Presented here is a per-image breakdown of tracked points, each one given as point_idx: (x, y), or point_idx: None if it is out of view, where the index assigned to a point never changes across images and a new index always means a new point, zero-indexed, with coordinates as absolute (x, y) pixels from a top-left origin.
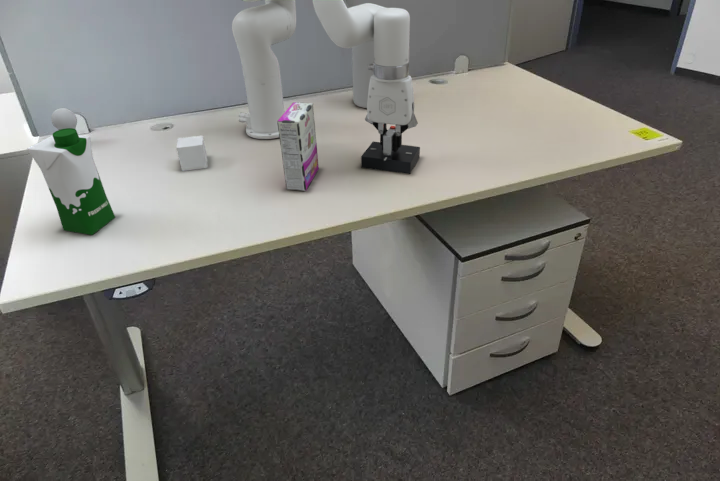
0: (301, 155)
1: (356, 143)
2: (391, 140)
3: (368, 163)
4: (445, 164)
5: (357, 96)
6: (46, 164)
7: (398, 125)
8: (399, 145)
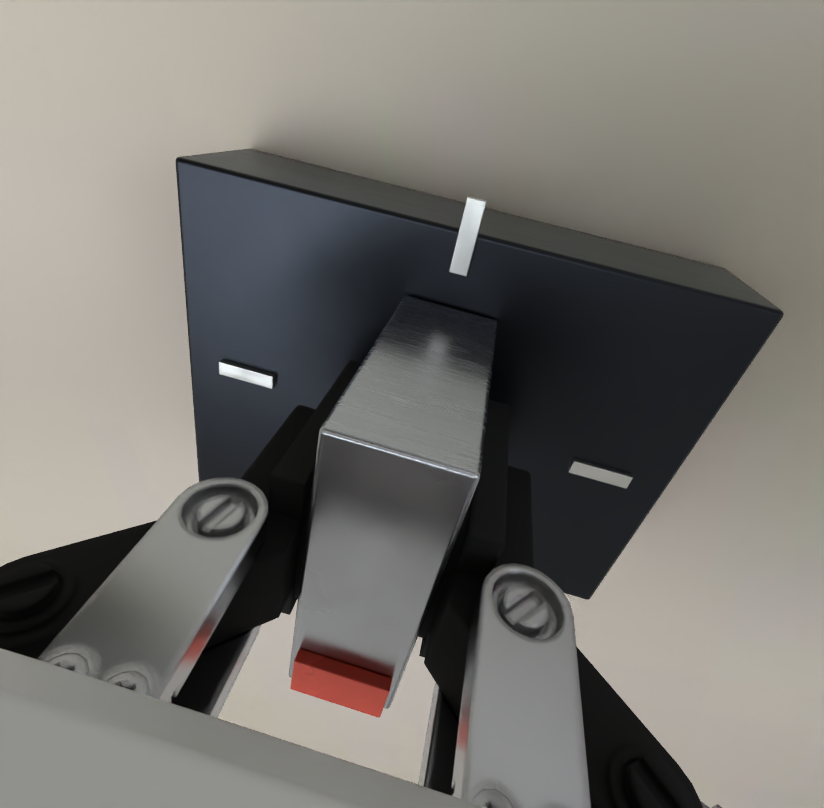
0: None
1: (687, 640)
2: (342, 397)
3: (665, 262)
4: (63, 339)
5: None
6: None
7: (104, 652)
8: (294, 412)
